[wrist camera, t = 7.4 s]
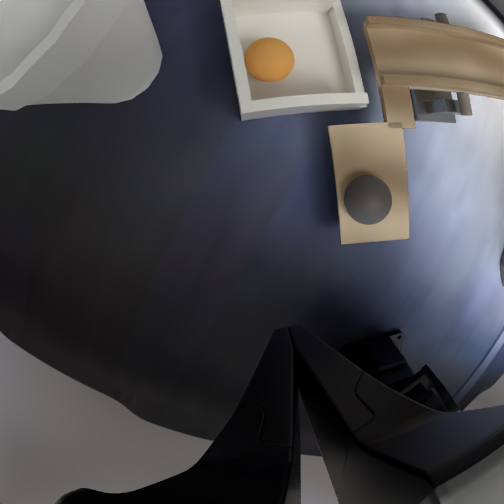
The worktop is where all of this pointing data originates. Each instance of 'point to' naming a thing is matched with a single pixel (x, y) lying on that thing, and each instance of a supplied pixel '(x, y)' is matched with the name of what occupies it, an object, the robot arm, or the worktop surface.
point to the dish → (305, 53)
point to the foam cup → (75, 51)
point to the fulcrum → (434, 104)
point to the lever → (404, 115)
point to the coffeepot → (502, 267)
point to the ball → (269, 59)
